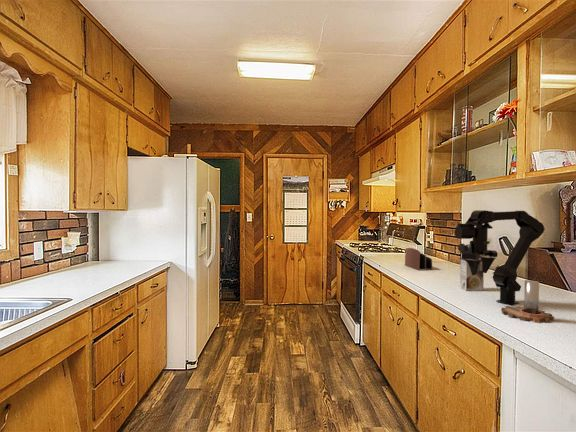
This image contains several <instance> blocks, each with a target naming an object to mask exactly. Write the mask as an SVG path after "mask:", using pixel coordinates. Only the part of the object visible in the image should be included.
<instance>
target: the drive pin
mask: <svg viewBox="0 0 576 432" xmlns="http://www.w3.org/2000/svg"><path fill="white" fill-rule="evenodd" d="M523 296H524V298H523V299H524V301H523V302H524V304H523V306H524V307H523V308H524V312H526V313H530V314H539V310H540V309H539V305H540V304H539V303H540V302H539V301H540V282H539V281H538V280H537V281H536V280H530V279H526V280H524V295H523Z"/></svg>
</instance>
